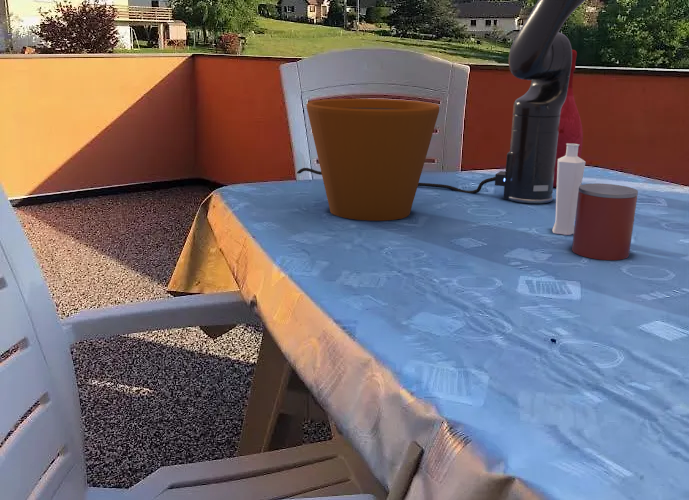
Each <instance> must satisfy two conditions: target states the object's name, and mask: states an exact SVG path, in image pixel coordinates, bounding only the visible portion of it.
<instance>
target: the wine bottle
mask: <svg viewBox="0 0 689 500" xmlns="http://www.w3.org/2000/svg"><path fill="white" fill-rule="evenodd" d="M577 57H578V52H577V51H576V49H573V48H572V65H571V72H570V78H569V84H568V91H567V96H566V100H565V102H564V104H563V106H562V108H561V114H560V124H559V134H558V144H557V153H556V163H555V173H554V182H553V188H557V163H558V159H559V158H561V157H563V156H565V155H566V148H567V145H566V144H567V143H573V144H579V146H578V155H577V156H578V157H579V158H581V159H582V152H583V151H582V150H583V142H584V141H583V140H584V130H583V125H582V119H581V116H580V112H579V110H578V106H577V103H576V100H575V96H574V88H573V83H574V82H573V81H574V72H575V70H576V63H577V62H576V61H577Z"/></svg>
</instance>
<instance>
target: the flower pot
mask: <svg viewBox="0 0 689 500" xmlns="http://www.w3.org/2000/svg"><path fill="white" fill-rule="evenodd" d="M306 111H307V116H308V120H309V124H310V125H309V126H310V129H311V134H312V137H313V142H314V147H315V151H316V155H317V159H318V164H319V168H320V172H321V173H322V175H321V176H322V182H323V185H324V191H325V194H326V199H327V203H328V208H329V212H330V213H331V215H333V216H337V217H339V218H344V219H350V220H356V221H368V222H369V221H370V222H371V221H373V222H374V221H376V222H377V221H379V222H381V221H382V222H383V221H393V220H395V221H396V220H400V219H401V220H402V219H405V218H407V217H409V216H410V214H411V211H412V207H413V204H414V201H415V196H416V193H417V190H418V187H419V186H418V183H420V179H421V176H422V173H423V169H424V165H425V162H426V159H427V155H428V152H429V148H430V145H431V141H432V138H433V134H434V131H435V127H436V124H437V120H438V117H439V113H440V105H438V104H437V103H434V102H433V103H432V102H427V101H421V100H408V99H394V98H393V99H390V98H327V99H314V100H310V101H308V102H307V103H306Z"/></svg>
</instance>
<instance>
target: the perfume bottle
mask: <svg viewBox="0 0 689 500" xmlns="http://www.w3.org/2000/svg"><path fill="white" fill-rule="evenodd" d="M566 145H567V148H566V155H565V156H563V157H561V158H559V159H558V163H557V187H556V190H555V191H556V192H555V219H554V221H555V222H554V224H553V227H552V233H553V234H556V235H557V234H558V235H564V236H570V235H574V226H575V217H576V208H577V199H578V191H579V186H580V185H583V184H582V183H583V178H584V173H585V168H586V161H585V160H584V159H583V158H582V157H581V158H579V157H578V156H577V155H578V146H579V144H573V143H567V144H566Z"/></svg>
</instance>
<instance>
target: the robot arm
mask: <svg viewBox="0 0 689 500" xmlns="http://www.w3.org/2000/svg"><path fill="white" fill-rule="evenodd" d="M584 2H586V0H537V2H536V3H535V5H534V7H533V9H532V10H531V12H530V13H529V15H528V16H527V18H526V19H525V21H524V23H523V24H522V26H521V28H520V29H519V31H518V32H517V35H516V36H515V37H514V39H513V42H512V44H511V46H510V49H509V53H508V68H509V71H510V73H511V74H512V76H513V77H515V78H516V79H518V80H522V81H523V80H524V81H531V82H530V86H529V88H528V90H527V91H526V92H525V93H524V94H523V95H521V96H520V97H518V98H516V99H515V100H514V102H513V107H512V121H511V131H510V132H511V134H510V143H509V144H510V145H509V151H508V152H507V153H506V159H505V160H506V161H505V170H499V172H497V173H495V176H493V177H489V178H485V179H483V180H482V181H480V182H479V184H478V186H477V187H476V189H472V190H466V189H461V188H458V187H455V186H452V185H449V184H441V183H430V182H419V183H418V187H427V188H439V189H447V190H451V191H454V192H459V193H466V194H471V195H472V194H474V195H475V194H479V192H481V190H482V189H483V188H482V187H483V186H484V185H486V184H487V183H491V182H494V186H495V187H496V186H498V187H503V195H502V196H503V197H502V199H503V200H508V201H512V202H516V203H522V204H547V203H551V202H552V201H553V193H554V187H553V182H554V173H555V163H556V153H557V144H558V134H559V124H560V114H561V108H562V106H563V104H564V102H565V100H566V96H567V91H568V84H569V78H570V72H571V65H572V49H573V48H572V44H571V41H570V39H569V38H568V36H566V34H564V33H562V32H560V30H561V28H562V27H563V25H564V23H566V21H567V20H568V18H569V17H570V16H571V15H572V14H573V12H575V10H577V9H578V8H579V7H580V6H581V5H582V4H583V3H584ZM303 172H309V173H312V174H315V175H320V176H322V173H321V170H320V171H319V170H315V169H313V168H310V167H302V168H300V169H299V170H297V172H296V174H297V175H298V174H302V173H303Z"/></svg>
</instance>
